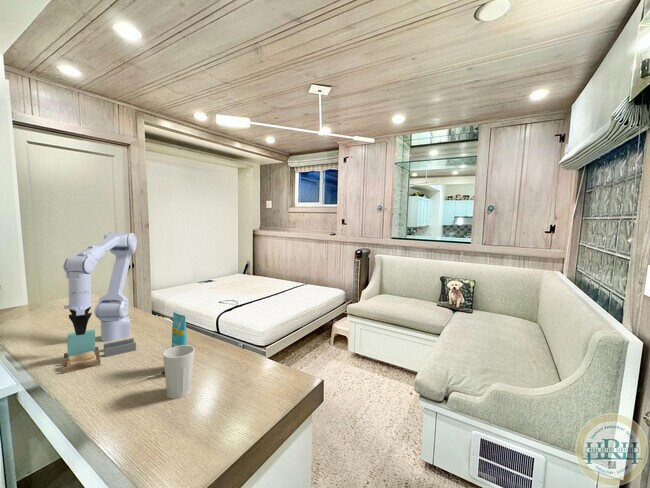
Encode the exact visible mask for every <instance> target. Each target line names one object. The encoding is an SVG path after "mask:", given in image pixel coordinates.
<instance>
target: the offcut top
mask: <svg viewBox="0 0 650 488" xmlns="http://www.w3.org/2000/svg"><path fill="white" fill-rule="evenodd" d="M91 359H95V353H94V352H93V351H90V352H86V353H82V354H78V355H74V356H70V357H69V363H70V365H72V364H76V363H79V362H83V361H87V360H91Z"/></svg>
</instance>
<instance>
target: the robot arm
mask: <svg viewBox="0 0 650 488" xmlns="http://www.w3.org/2000/svg"><path fill="white" fill-rule="evenodd" d="M103 236H104V237H103V239H102V241H100V242H99V243H98V244H97V245H95V244H94V245H93V244H90V245H89V246H87V248H86V249H84V250H82V251H81V252H79V253H78V254H77V255H72V256H71V255H70V256H69V257H68V258H66V259H65V260H64V263H63V266H62V267H63V270H64V272H65V277H66V278H67V279H68V305H63V309H64V310H67V309H69V312H70V313H71V314H68V318H69V320H70V322H72V324H73V328H74V333H76V335H83V334H85V332H86V331H87V326H88V323H89V320H90V318H91V317H92V312H89V311H90V310H91V308H92V306H93V303H92V273H93V272H94V271H95V269H96V266H98V263H99V262H101V260H103V259H104V258H105V257H106V252H108V251H109V252H110V253H111V254H113V255H114V256H115V261H114V265H113V268H112V272H111V278H110V280H109V285H108V289H107V292H106V294H104V295H103V296H101V297H99V298H98V301H97V304H96V305H95V307H94V316H95V318H97V319H98V321H100V341H101V342H106V343H110V342H116V341H120V340H124V339H129V338H131V321H130V317H129V315H128V313H129V308H130V307H129V304H130V300H129V298H128V297H126V296H125V295H124V291H125V290H124V289H125V285H126V281H127V276H128V274H129V273H128V272H129V268H130V263H131V258H132V256H133V255H134V254H135V252H136V249H137V245H138V240H137V239H138V238H137V236H136V234H135V233H134V232H113V231H111V232H107V233H106V234H104V235H103Z"/></svg>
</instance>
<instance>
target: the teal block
mask: <svg viewBox="0 0 650 488" xmlns="http://www.w3.org/2000/svg"><path fill="white" fill-rule="evenodd" d="M66 337H67V341H66V342H67V344H66V345H67V346H66V347H67V353H68V358H69V357H70V356H74V355H78V354H82V353H86V352H90V351H93V352H95V347H96V330H95V329H88V330H86V332H85V334H83V335H76V333H75V332H72V333H70V332H69V333H67V336H66Z"/></svg>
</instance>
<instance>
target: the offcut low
mask: <svg viewBox="0 0 650 488" xmlns="http://www.w3.org/2000/svg"><path fill="white" fill-rule="evenodd" d="M95 360H96V355H95V359H91V360H87V361H83V362H79V363H76V364H72V365H70V363H69V361H68V363H67V367H69V366H74V365H78V364H82V363H87V362H91V361H95Z"/></svg>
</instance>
